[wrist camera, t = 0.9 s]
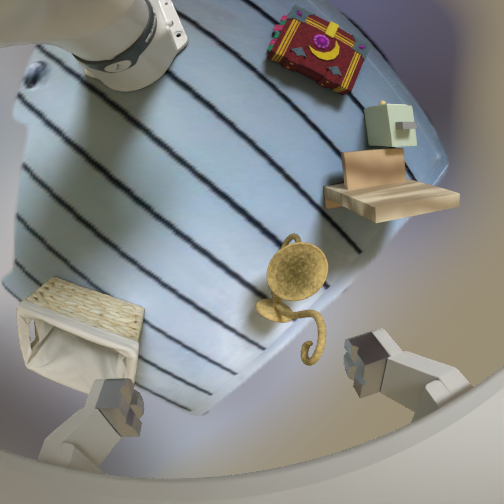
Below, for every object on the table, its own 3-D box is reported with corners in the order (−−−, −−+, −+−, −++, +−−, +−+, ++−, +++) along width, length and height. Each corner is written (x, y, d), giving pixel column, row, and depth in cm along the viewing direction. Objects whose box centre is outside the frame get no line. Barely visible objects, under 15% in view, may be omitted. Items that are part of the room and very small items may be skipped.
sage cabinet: (362, 103, 44) (392, 97, 35) (386, 104, 44) (417, 99, 35) (368, 145, 47) (399, 147, 38) (391, 143, 47) (424, 146, 38)
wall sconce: (289, 296, 56) (334, 388, 32) (243, 287, 54) (265, 385, 30) (314, 230, 51) (386, 296, 28) (265, 217, 49) (310, 281, 26)
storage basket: (154, 305, 53) (139, 353, 39) (141, 362, 57) (129, 411, 44) (50, 268, 47) (12, 303, 34) (49, 328, 52) (22, 368, 38)
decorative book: (340, 97, 44) (353, 93, 39) (258, 56, 40) (263, 47, 35) (359, 51, 40) (372, 44, 36) (282, 11, 36) (289, 0, 32)
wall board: (319, 153, 47) (371, 158, 30) (393, 146, 47) (458, 153, 31) (325, 207, 50) (376, 238, 33) (396, 195, 51) (458, 219, 34)
